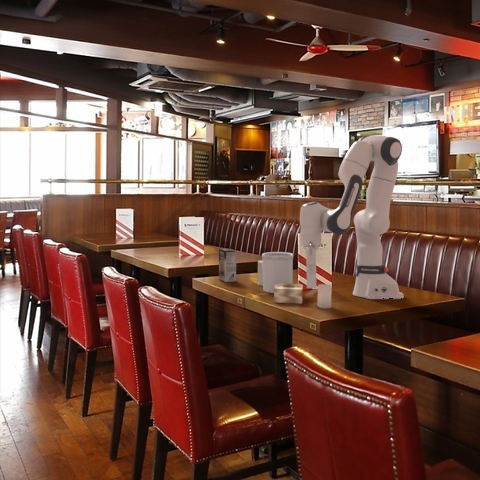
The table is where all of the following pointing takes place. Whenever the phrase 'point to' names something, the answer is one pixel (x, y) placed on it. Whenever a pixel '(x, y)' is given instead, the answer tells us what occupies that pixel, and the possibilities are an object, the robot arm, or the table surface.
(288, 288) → the socket block
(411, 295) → the table surface
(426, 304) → the table surface
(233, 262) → the coffee box
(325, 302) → the white rounded block
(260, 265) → the can
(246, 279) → the table surface
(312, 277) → the square bar
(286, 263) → the utensil holder
